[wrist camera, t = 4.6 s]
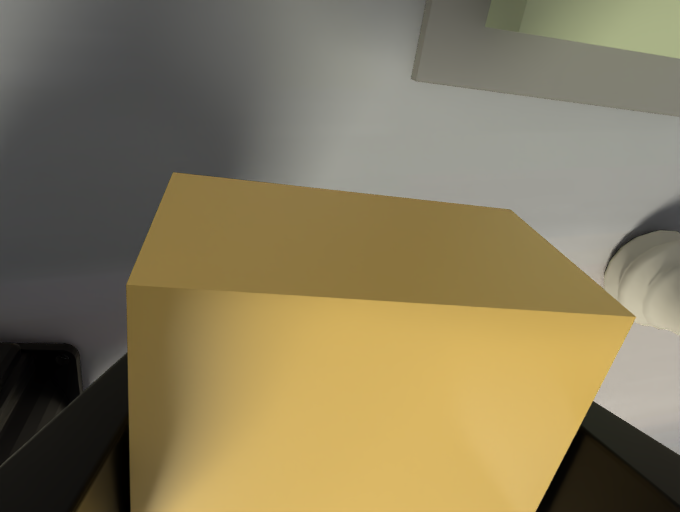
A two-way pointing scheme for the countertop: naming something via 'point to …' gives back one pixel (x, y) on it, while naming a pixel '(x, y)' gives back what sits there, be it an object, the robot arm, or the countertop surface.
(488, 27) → the baseplate
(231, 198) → the ochre brick
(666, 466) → the robot arm
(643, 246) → the rook chess piece
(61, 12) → the countertop surface
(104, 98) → the countertop surface
